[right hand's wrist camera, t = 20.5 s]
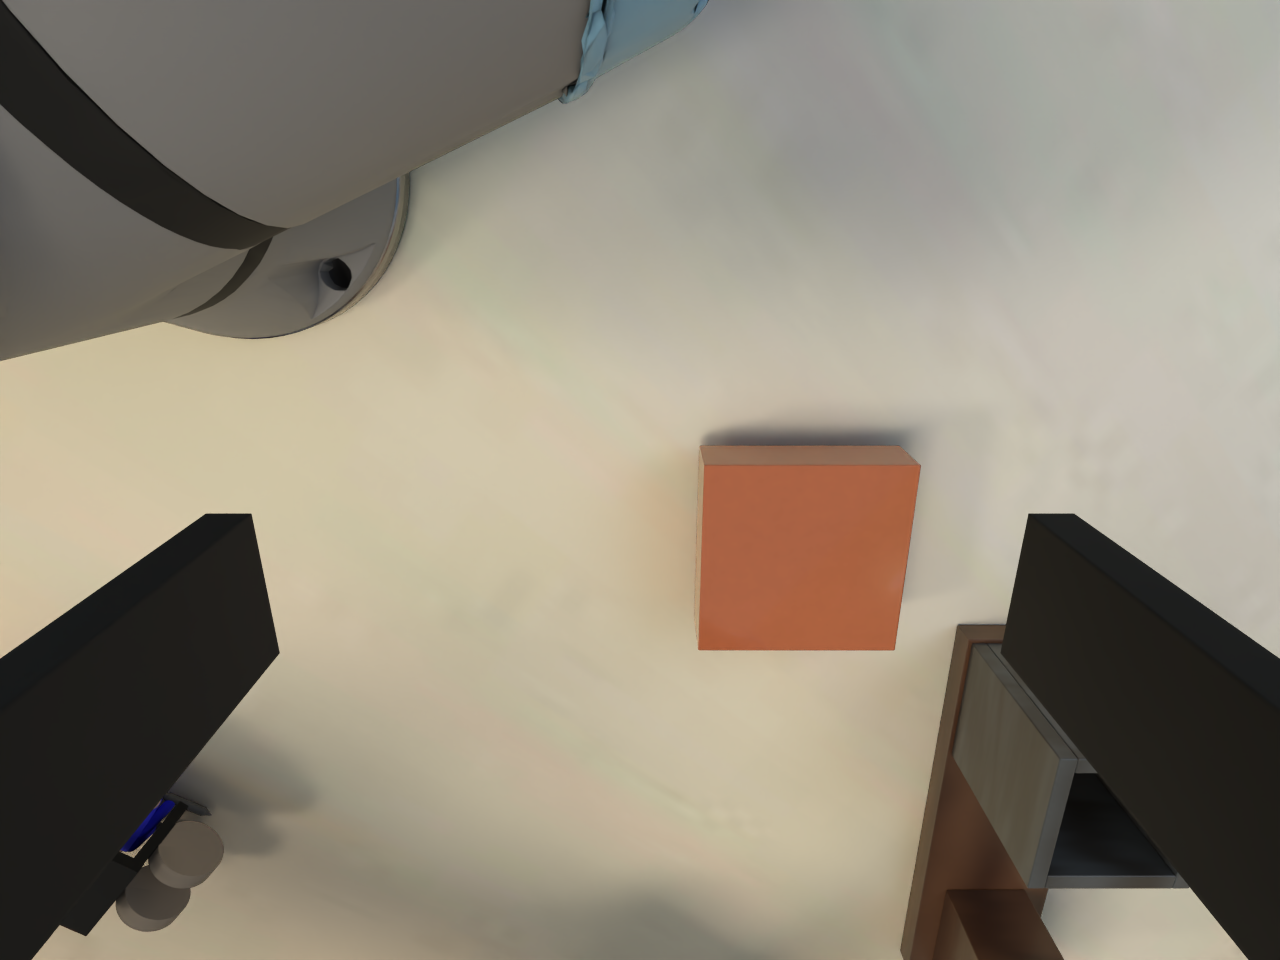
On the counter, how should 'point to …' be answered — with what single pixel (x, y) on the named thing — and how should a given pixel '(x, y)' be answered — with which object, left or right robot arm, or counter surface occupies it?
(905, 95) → the counter surface
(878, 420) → the counter surface
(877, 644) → the glossy orange tile
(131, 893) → the figurine character
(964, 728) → the brown wooden desk organizer
